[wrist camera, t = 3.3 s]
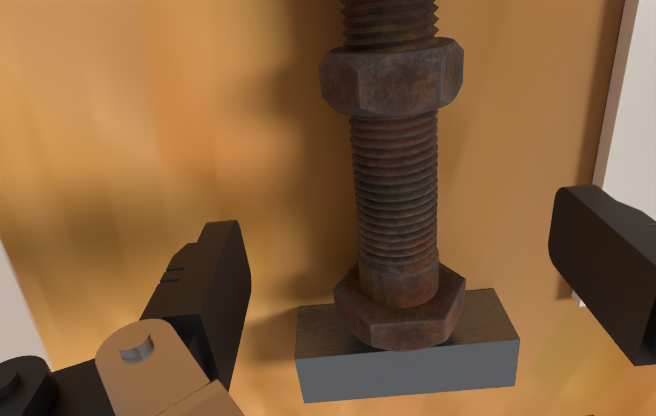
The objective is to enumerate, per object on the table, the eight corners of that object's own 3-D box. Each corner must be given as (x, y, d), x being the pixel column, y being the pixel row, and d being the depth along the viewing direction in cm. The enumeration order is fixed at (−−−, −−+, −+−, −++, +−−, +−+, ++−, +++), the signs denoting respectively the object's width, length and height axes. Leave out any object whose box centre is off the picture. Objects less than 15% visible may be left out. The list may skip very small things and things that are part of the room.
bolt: (394, -67, 17) (403, 263, 23) (271, -60, 15) (321, 299, 21) (523, -101, 12) (490, 323, 19) (371, -97, 10) (394, 377, 17)
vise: (564, -692, 9) (677, -1011, 6) (490, 331, 24) (514, 385, 21) (118, -593, 10) (26, -840, 7) (307, 348, 24) (304, 403, 21)
